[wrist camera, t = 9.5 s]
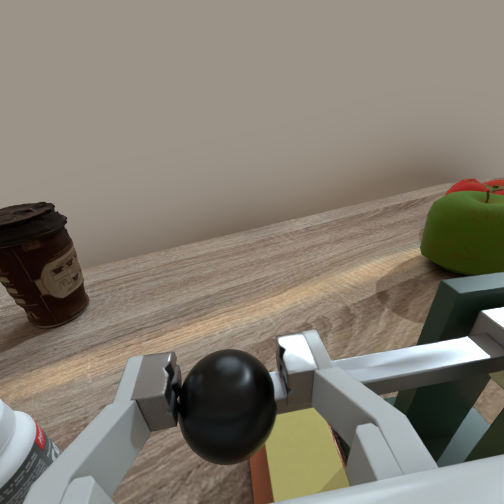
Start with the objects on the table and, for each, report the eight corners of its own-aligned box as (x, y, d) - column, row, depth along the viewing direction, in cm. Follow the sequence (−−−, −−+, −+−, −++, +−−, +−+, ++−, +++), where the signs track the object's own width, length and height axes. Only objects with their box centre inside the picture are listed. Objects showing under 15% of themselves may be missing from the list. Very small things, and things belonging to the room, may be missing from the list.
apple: (418, 277, 34) (444, 199, 29) (412, 243, 43) (431, 177, 37) (527, 296, 30) (581, 208, 25) (496, 254, 38) (531, 181, 33)
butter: (272, 679, 11) (270, 672, 9) (245, 423, 19) (242, 393, 17) (406, 643, 11) (431, 630, 9) (321, 410, 20) (326, 380, 18)
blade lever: (185, 494, 9) (155, 441, 7) (193, 392, 12) (174, 337, 10) (590, 409, 10) (655, 344, 8) (497, 336, 13) (529, 278, 11)
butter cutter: (409, 621, 12) (588, 501, 5) (330, 416, 19) (358, 263, 13) (598, 573, 12) (968, 416, 6) (450, 396, 20) (535, 242, 14)
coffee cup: (108, 284, 36) (73, 196, 30) (93, 325, 29) (43, 220, 23) (39, 297, 35) (-14, 205, 28) (5, 343, 28) (-76, 235, 21)
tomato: (438, 236, 44) (454, 188, 40) (434, 213, 54) (447, 172, 49) (538, 251, 39) (569, 196, 34) (514, 222, 48) (537, 176, 44)
